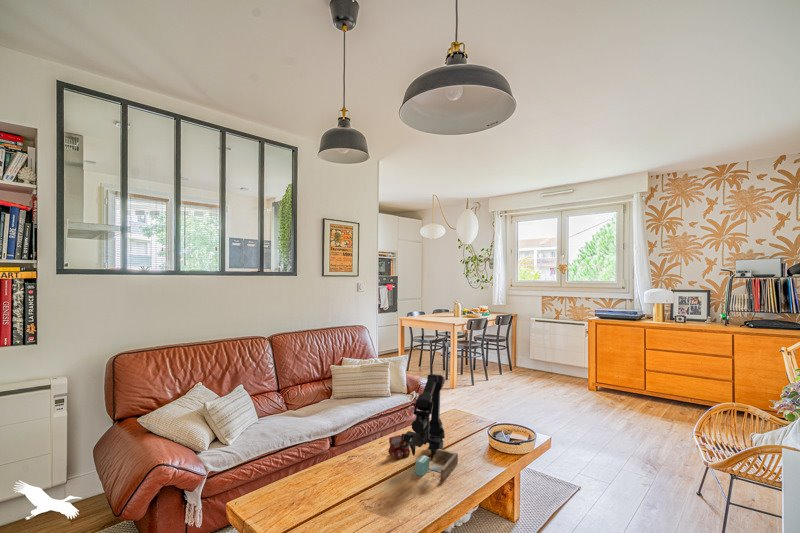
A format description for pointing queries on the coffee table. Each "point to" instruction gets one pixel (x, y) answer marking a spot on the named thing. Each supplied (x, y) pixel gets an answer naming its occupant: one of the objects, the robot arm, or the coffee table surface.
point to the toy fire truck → (398, 446)
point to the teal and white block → (422, 465)
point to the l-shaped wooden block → (449, 466)
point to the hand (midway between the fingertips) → (422, 457)
